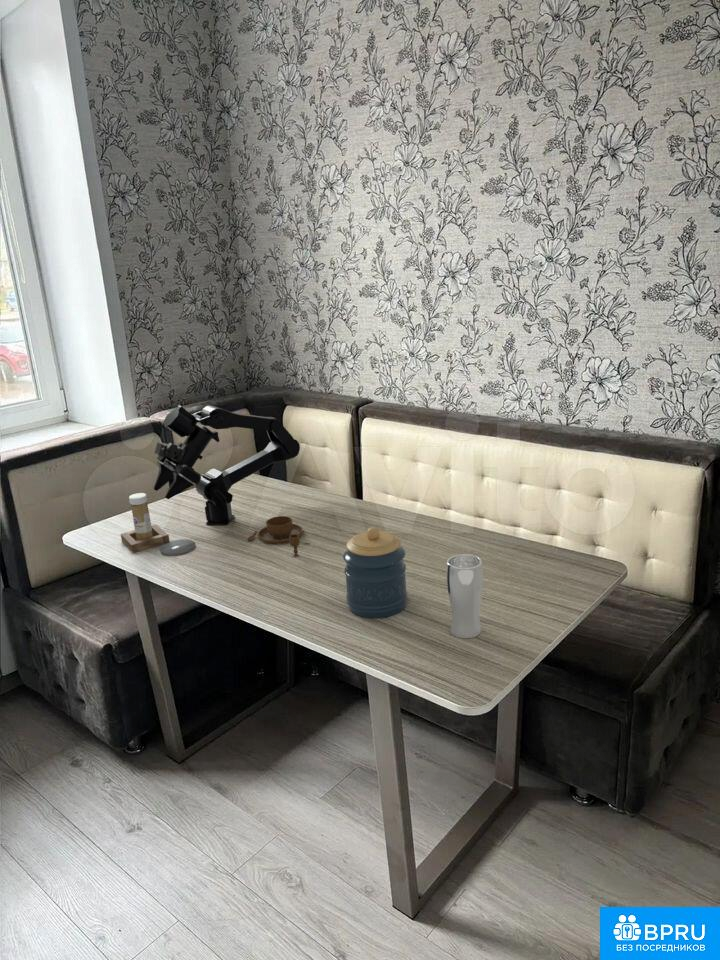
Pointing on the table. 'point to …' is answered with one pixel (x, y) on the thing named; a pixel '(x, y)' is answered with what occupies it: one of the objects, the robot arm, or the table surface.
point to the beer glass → (465, 594)
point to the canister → (375, 574)
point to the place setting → (280, 532)
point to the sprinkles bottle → (141, 516)
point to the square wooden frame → (156, 540)
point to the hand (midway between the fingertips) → (160, 494)
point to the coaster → (177, 547)
